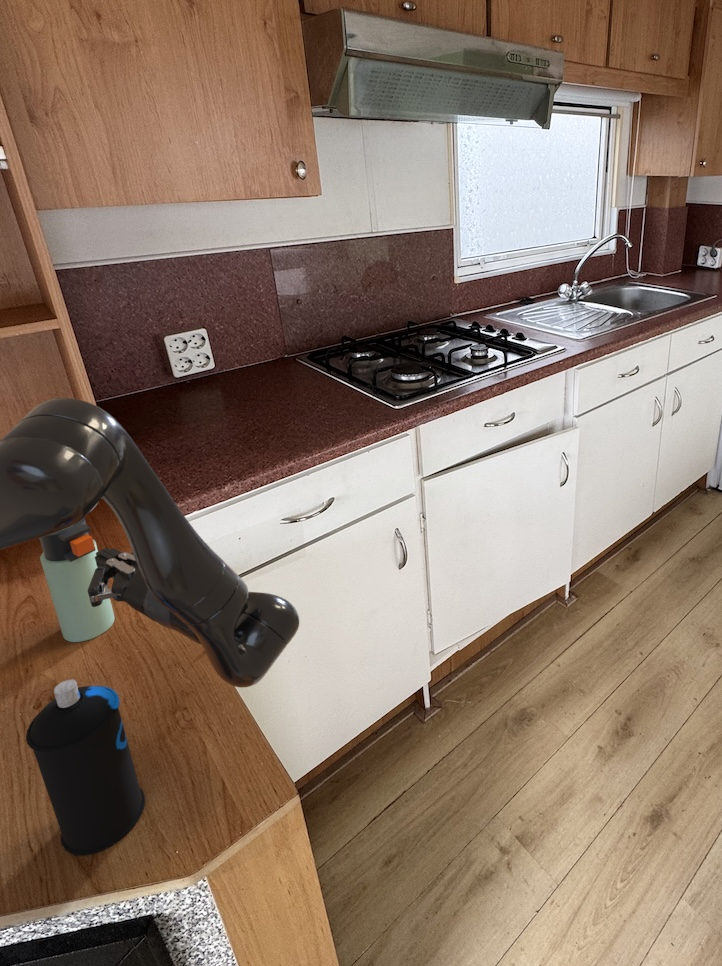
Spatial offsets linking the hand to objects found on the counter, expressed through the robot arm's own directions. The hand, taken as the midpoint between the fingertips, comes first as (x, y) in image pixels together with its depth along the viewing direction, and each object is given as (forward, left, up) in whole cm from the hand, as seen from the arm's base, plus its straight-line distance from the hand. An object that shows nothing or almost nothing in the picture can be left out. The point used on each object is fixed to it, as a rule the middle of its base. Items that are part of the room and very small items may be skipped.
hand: (101, 555), depth 86 cm
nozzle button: (-3, +4, -1) cm, 5 cm away
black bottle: (+3, -29, -18) cm, 34 cm away
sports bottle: (-7, +8, -18) cm, 21 cm away
